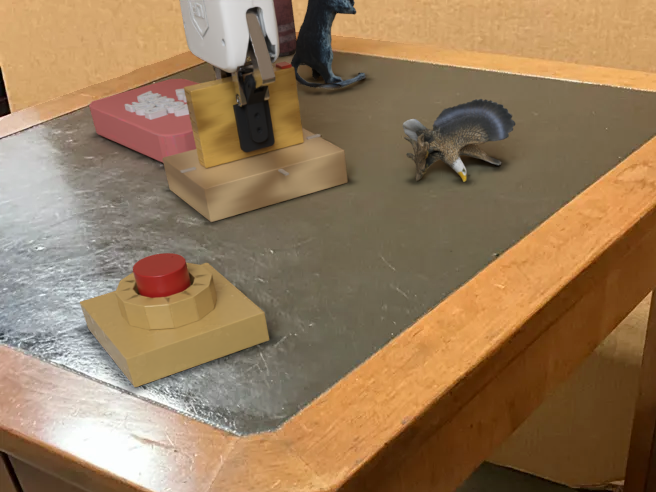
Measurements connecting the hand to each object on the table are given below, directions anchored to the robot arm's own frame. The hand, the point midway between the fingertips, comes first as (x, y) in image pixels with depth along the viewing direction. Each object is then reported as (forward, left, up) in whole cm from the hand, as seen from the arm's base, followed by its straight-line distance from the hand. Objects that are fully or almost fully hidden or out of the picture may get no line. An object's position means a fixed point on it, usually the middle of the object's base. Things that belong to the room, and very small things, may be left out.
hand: (252, 143), depth 82 cm
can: (+23, +42, -4) cm, 48 cm away
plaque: (+1, +19, -4) cm, 19 cm away
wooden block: (0, 0, -1) cm, 1 cm away
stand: (0, 0, -4) cm, 4 cm away
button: (-17, -22, 0) cm, 28 cm away
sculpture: (+22, +24, -4) cm, 33 cm away
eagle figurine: (+16, -10, -4) cm, 19 cm away
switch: (-17, -22, -4) cm, 28 cm away
